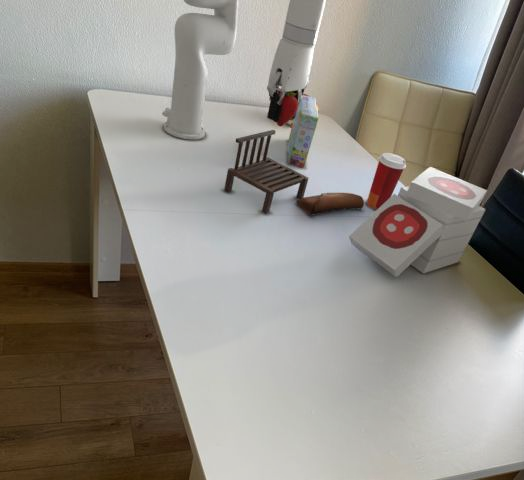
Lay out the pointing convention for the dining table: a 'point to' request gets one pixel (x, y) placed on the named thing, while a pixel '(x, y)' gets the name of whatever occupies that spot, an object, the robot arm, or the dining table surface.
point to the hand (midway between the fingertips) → (281, 117)
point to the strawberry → (287, 107)
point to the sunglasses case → (330, 202)
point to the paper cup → (385, 179)
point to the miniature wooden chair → (263, 170)
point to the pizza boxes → (422, 224)
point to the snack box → (302, 131)
